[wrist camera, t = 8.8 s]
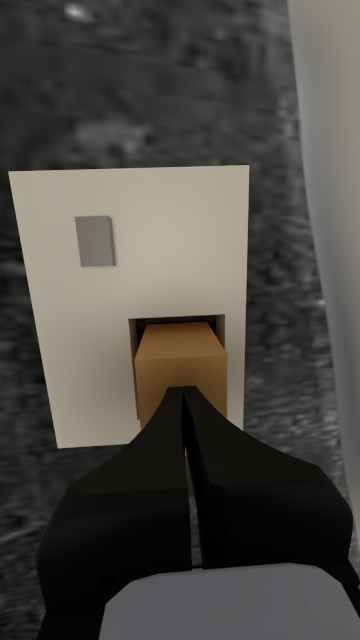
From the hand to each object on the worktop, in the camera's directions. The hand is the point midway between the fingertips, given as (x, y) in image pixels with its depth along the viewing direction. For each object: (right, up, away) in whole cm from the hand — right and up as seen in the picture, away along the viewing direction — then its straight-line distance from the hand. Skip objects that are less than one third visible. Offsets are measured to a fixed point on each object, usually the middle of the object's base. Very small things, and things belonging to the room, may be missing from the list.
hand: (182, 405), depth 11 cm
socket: (-2, +4, +6) cm, 8 cm away
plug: (0, +2, +7) cm, 7 cm away
